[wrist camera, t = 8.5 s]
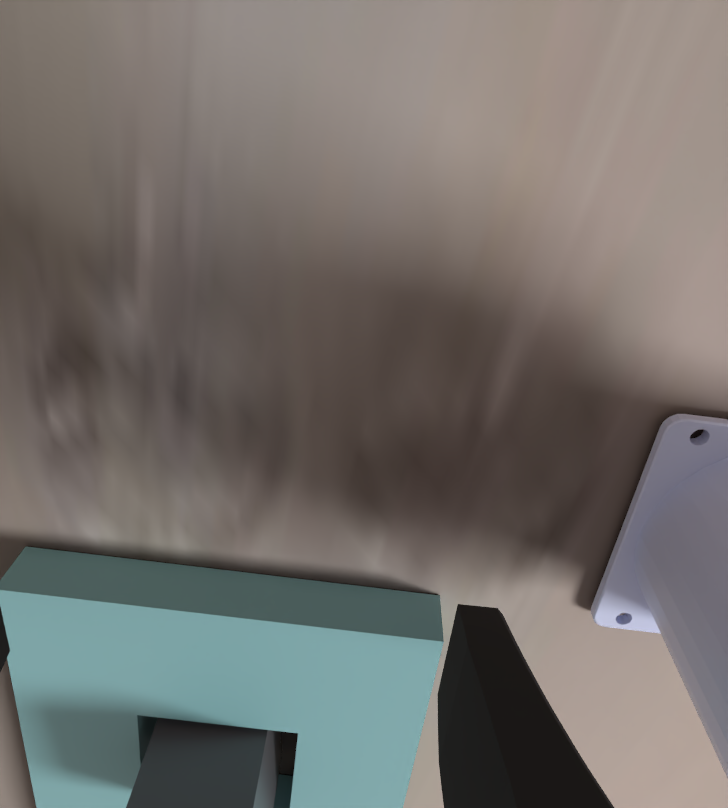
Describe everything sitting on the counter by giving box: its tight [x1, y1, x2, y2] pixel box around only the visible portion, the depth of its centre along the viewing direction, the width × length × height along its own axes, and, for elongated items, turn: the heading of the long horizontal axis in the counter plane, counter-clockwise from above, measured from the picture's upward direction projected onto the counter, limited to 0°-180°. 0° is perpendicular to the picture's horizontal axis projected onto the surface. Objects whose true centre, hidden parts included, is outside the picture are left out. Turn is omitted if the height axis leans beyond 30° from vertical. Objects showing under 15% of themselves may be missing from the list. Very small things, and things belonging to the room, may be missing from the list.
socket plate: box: [0, 546, 444, 808], centre depth 25 cm, size 14×16×2 cm
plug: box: [126, 718, 282, 808], centre depth 23 cm, size 4×4×7 cm
